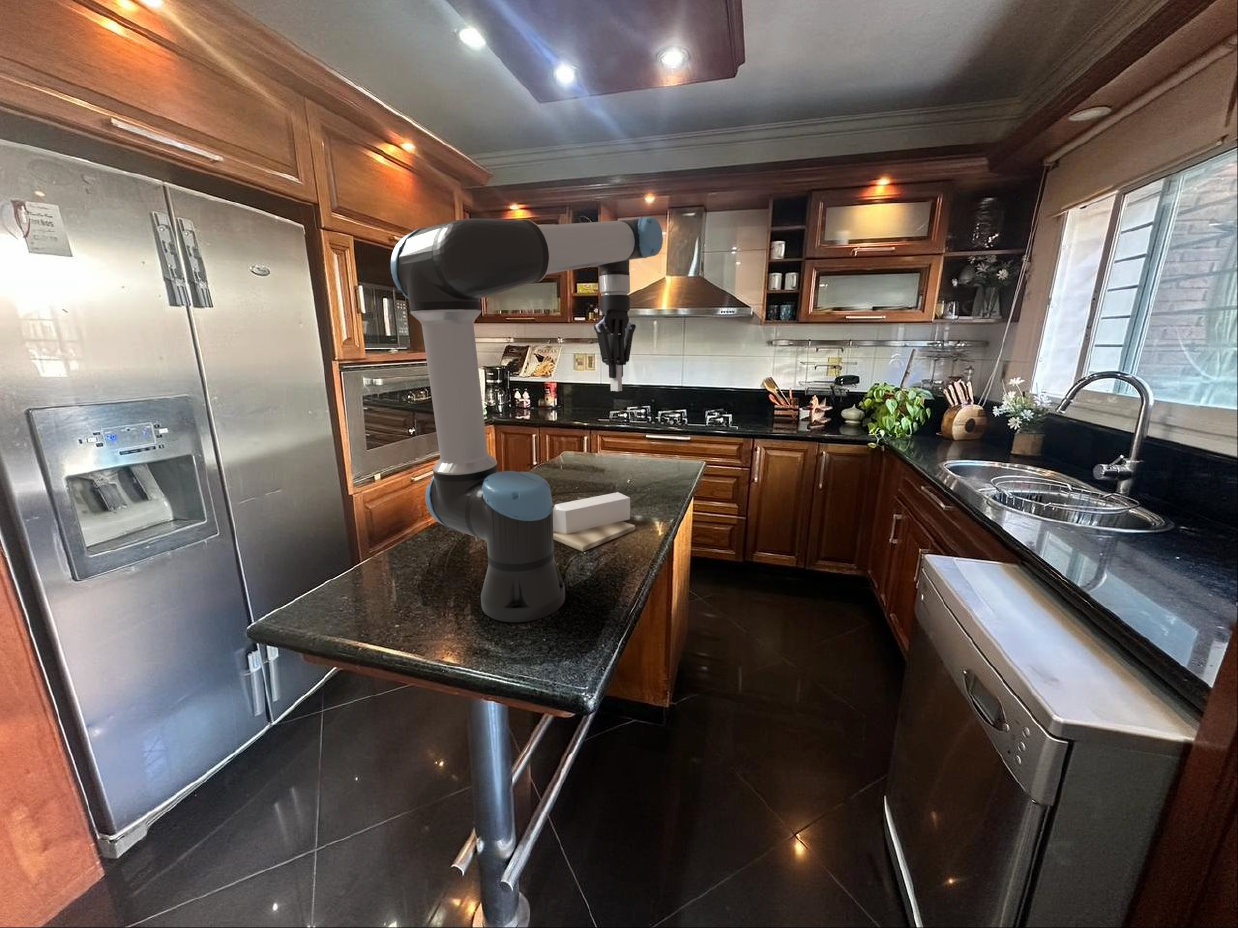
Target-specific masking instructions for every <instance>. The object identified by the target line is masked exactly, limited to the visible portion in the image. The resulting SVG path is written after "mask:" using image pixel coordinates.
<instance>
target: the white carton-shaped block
mask: <svg viewBox="0 0 1238 928" xmlns="http://www.w3.org/2000/svg"><path fill="white" fill-rule="evenodd" d="M628 520H631V497H629V496H627V495H625V494H623V493H621V492H618V491H616V492H612V493H607V494H602V495H598V496H590V497H587V498H580V499H577V500H571V501H566V502H561V503H557V504H554V505H553V532H558V533H563V534H569V533H573V532H577V531H582V530H586V529H590V528H594V527H599V526H603V525H607V524H611V523H616V522H620V521H623V522H625V521H628Z"/></svg>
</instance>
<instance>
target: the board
mask: <svg viewBox="0 0 1238 928" xmlns="http://www.w3.org/2000/svg"><path fill="white" fill-rule="evenodd" d="M635 530H636V525H635V524H632V523H628V522H625V521H620V522H616V523H611V524H607V525H603V526H599V527H594V528H590V529H586V530H582V531H577V532H573V533H569V534H563V533H558V532H553V541H554V540H555V542H559V543H560V544H561V543H562V544H564V545H566V546H569V547H571V548H573V549H576V550H578V551H581V552H586V551H587V550H590V549H592V548H595V547H598V546H599V545H602V544H605V543H606V542H607V543H608V542H609V541H611V540H613V539H616V538H619V537H622V536H624V535H626V534H629V533H630V532H633V531H635Z"/></svg>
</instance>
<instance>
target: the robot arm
mask: <svg viewBox="0 0 1238 928" xmlns="http://www.w3.org/2000/svg"><path fill="white" fill-rule="evenodd" d="M663 237H664V236H663V229H662V226H661V224H660V222H659V221H658V219H657V218H655V217H654V216H648V217H647V216H646V217H642V216H641V217H639V218H634V219H627V220H626V219H624V220H610V221H608V220H607V221H595V222H593V221H590V222H577V223H575V222H574V223H563V224H562V223H561V224H548V225H547V224H546V225H539V224H537V223H535V221H532V220H529V219H497V218H496V219H494V218H476V217H475V218H463V219H462V218H461V219H457V220H454V221H451V222H450V221H449V222H446V223H441V224H437V225H433V226H427V227H421V228H418V229H415V230H414V231H412V232H410V233H408V234H406V235H404V236H403V237H402V238H400V239H399V241H398V243H396V245H395V246H394V249H393V251H392V253H391V258H390V273H391V275H392V279H393V282H394V284H395V287H396V288H397V289H398V291H400V292H401V293H402V295H403V296H404V297H405V299H408V305H409V311H410V315H412V316H413V317H414V318H415V319H416V320H417V321H418V322H419V323H420V324H421V329H422V337H423V342H424V350H425V357H426V364H427V372H428V379H429V380H428V381H429V386H430V394H431V400H432V401H431V402H432V409H433V415H434V422H435V429H436V430H435V431H436V437H437V443H438V452H439V459H438V460H437V461H436V463H435V464H434V465H433V467H432V471H433V476H432V477H431V479H430V483H429V484H428V485H427V486H426V490H425V504H426V507H427V510H428V512H429V514H430V515H431V517H432V518H433V519H434V520H435V522H438V524H441V525H443V526H444V527H446V528H448V529H450V530H452V531H455V532H461V533H463V534H466V535H469V536H472V537H475V538H478V539H481V540H483V541H485V542H486V547H487V562H488V563H487V564H488V565H487V568H486V569H487V570H486V574H485V577H484V582H483V584H482V585H483V586H482V588H481V592H480V603H481V604H480V605H481V609H482V611H483V613H484V614H485V615H486V616H487V617H489V618H491V619H492V620H496V621H499V622H505V623H526V622H532V621H536V620H541V619H542V618H546V617H548V616H550V615H552V614H553V613H555V612H556V611H558V610H559V609H560V608H562V606H563V604H564V603H565V600H566V589H565V588H566V587H565V582H564V580H563V577H562V575H561V573H560V570H559V568H558V565H557V563H556V560H555V547H554V546H555V545H554V539H553V509H554V502H553V499H552V491H551V486H550V485H549V483H548V481H547V480H546V479H545V478H543V477H542V476H539V475H538V474H535V473H531V472H528V471H516V470H504V471H503V470H501V471H499V470H498V469H499V467H498V461H497V459H496V458H495V457H494V456H492V455H491V454H490V453H489V452H488V442H487V433H486V425H485V424H486V423H485V416H484V406H483V398H482V389H481V387H482V386H481V380H480V371H479V363H478V362H479V359H478V352H477V345H476V343H477V341H476V334H475V325H474V323H475V321H476V320H477V318H478V317H479V316H480V314H481V313H482V307H481V299H486V298H487V297H488V298H489V297H492V296H495V295H498V294H501V293H504V292H506V291H511V290H513V289H516V288H519V287H522V286H523V287H524V286H527V285H530V284H535V283H539V282H541V281H542V280H543V279H544V278H545V277H546V276H547V275H549V274H556V273H561V272H566V271H573V270H577V269H583V268H584V269H585V268H589V267H597V268H598V273H599V274H598V275H599V278H598V279H599V280H598V282H599V283H598V284H599V294H601V296H600V297H599V310H600V312H601V317H600V321H599V322H597V323H595V324H593V330H594V331H595V333H596V337H597V341H598V347H599V353H600V357H601V361H602V363H604V364H605V365H606V366H608V377H609V379H610V392H612V391H613V392H622V391H623V381H622V380H623V378H624V377H623V376H624V366H626V365H627V363H628V362H629V361H630V358H631V357H630V356H631V351H632V343H633V337H634V333H635V331H636V328H637V327H636V324H633V323H631V321H630V318H629V314H628V313H629V311H630V310H631V296H630V295H629V294H630V292H631V281H630V279H631V276H630V273H631V272H630V261H632V260H636V259H637V260H638V259H648V258H651V257H655V256H657V255H658V254H659V253H660V252H661V251H662V247H663V242H664V238H663Z"/></svg>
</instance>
